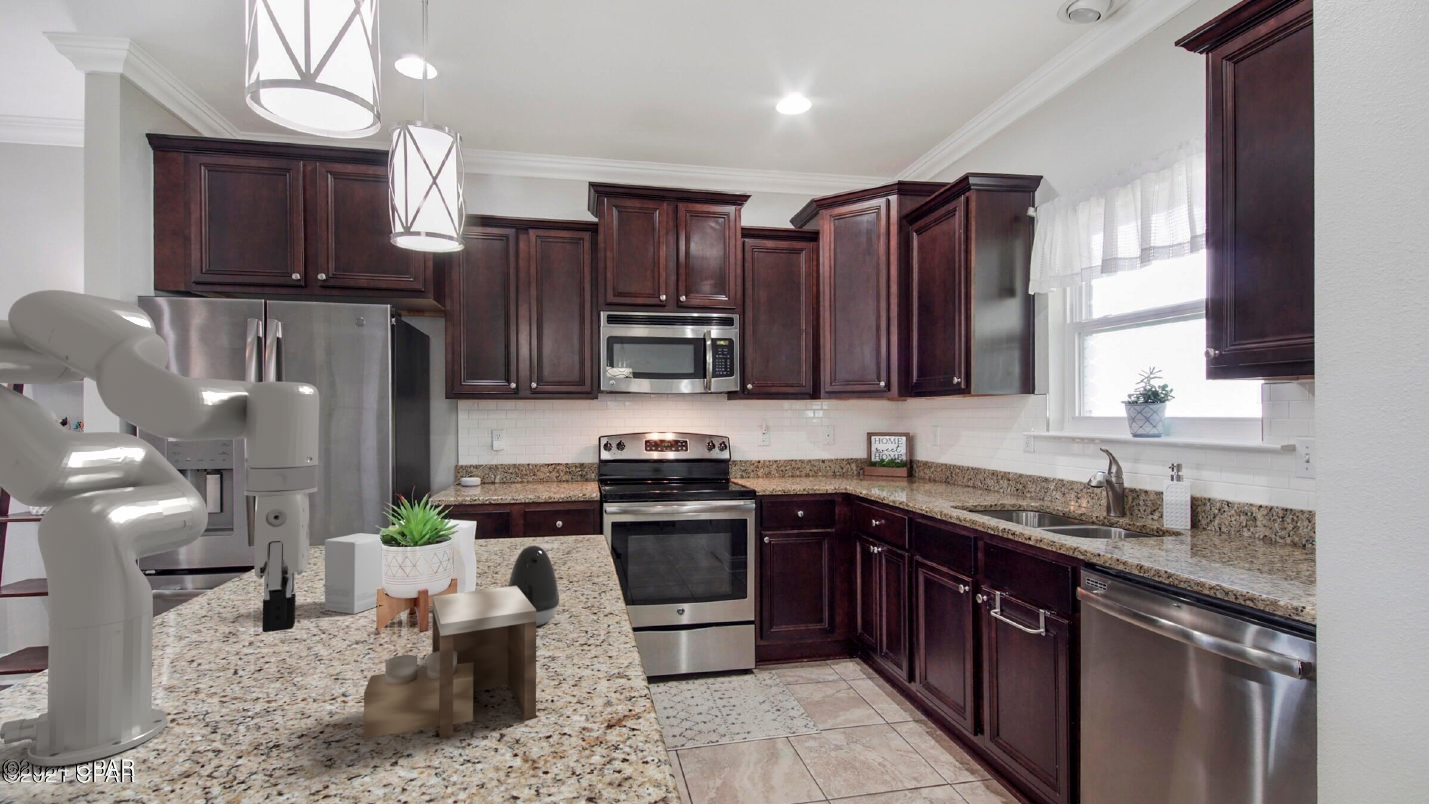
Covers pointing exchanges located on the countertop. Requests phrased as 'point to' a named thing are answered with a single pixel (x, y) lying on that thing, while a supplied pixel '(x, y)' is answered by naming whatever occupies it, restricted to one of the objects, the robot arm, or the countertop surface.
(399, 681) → the tan toy brick
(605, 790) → the countertop surface
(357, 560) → the supplement box
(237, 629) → the countertop surface
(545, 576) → the dark grey egg dome
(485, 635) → the wooden mini stool
